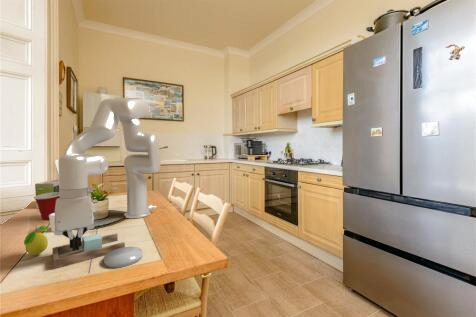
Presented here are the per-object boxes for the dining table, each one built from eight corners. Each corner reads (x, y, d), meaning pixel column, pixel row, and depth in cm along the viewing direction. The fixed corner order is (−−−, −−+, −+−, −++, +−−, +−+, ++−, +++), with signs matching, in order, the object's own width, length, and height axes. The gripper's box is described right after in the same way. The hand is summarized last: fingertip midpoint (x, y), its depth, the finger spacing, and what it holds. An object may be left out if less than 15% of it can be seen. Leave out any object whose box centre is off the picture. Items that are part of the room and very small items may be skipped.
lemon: (48, 248, 80) (47, 220, 79) (52, 254, 76) (51, 224, 76) (22, 255, 75) (20, 226, 74) (25, 261, 71) (23, 230, 70)
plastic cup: (29, 220, 110) (28, 195, 109) (54, 214, 120) (53, 191, 119) (43, 223, 106) (42, 197, 105) (68, 216, 116) (67, 193, 115)
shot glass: (58, 233, 94) (57, 216, 94) (45, 231, 95) (44, 215, 95) (73, 227, 101) (73, 211, 100) (60, 226, 102) (60, 210, 102)
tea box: (54, 202, 144) (53, 179, 143) (71, 202, 145) (70, 179, 144) (35, 209, 129) (34, 183, 128) (54, 208, 130) (53, 182, 129)
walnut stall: (116, 239, 88) (116, 233, 88) (124, 249, 79) (124, 242, 79) (52, 255, 75) (52, 247, 75) (54, 269, 67) (53, 260, 67)
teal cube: (98, 247, 81) (99, 233, 81) (101, 252, 77) (102, 237, 77) (81, 251, 78) (82, 236, 78) (84, 256, 74) (84, 241, 74)
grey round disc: (136, 247, 81) (136, 243, 81) (147, 259, 73) (147, 255, 73) (100, 257, 74) (100, 253, 74) (108, 272, 66) (108, 267, 65)
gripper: (98, 189, 81) (99, 239, 82) (43, 194, 72) (45, 251, 72) (102, 192, 76) (104, 246, 76) (43, 198, 66) (45, 260, 67)
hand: (75, 249), depth 74 cm, fingers closed
